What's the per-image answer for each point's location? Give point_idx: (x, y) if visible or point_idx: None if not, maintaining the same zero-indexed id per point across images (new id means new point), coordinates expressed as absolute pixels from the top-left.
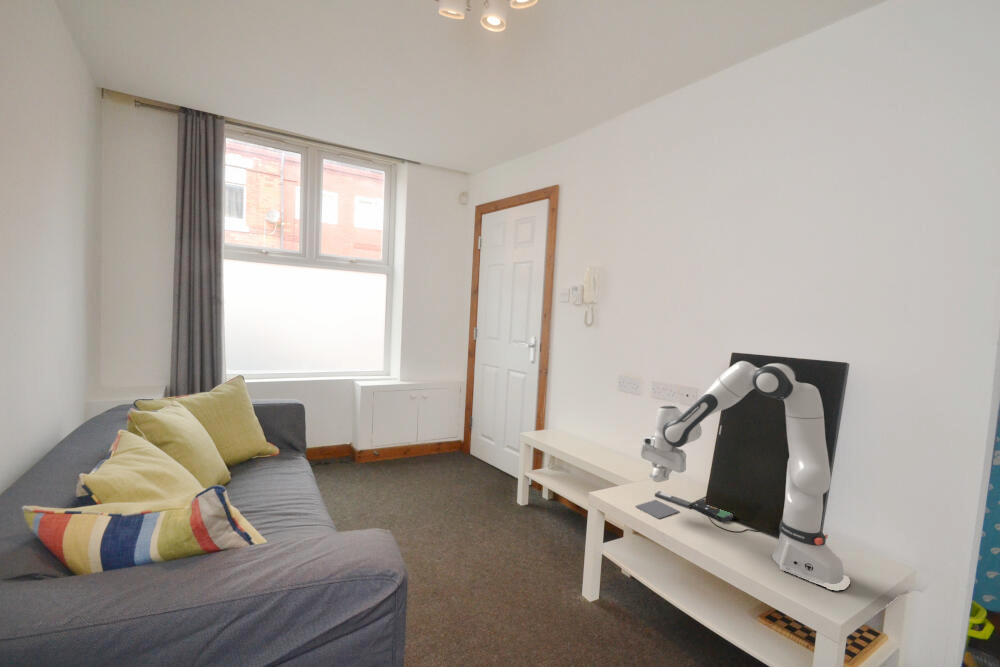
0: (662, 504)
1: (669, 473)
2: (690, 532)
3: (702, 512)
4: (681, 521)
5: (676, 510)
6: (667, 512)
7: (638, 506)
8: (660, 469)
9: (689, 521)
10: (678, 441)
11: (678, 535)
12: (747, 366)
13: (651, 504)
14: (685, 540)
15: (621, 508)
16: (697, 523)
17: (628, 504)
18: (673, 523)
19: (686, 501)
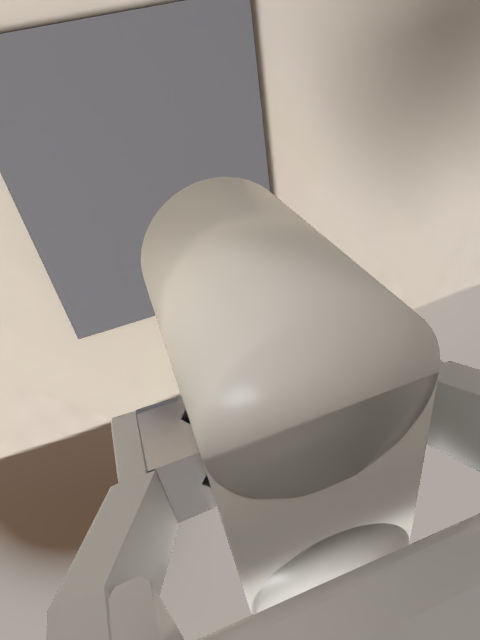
0: (78, 63)
1: (454, 366)
2: (460, 184)
3: None
4: (359, 129)
5: (228, 13)
6: (232, 147)
7: (90, 321)
8: (371, 551)
9: (388, 55)
10: None
11: (436, 277)
12: None
13: (65, 188)
14: (476, 273)
15: (89, 423)
16: (437, 8)
17: (30, 361)
18: (351, 213)
19: None
